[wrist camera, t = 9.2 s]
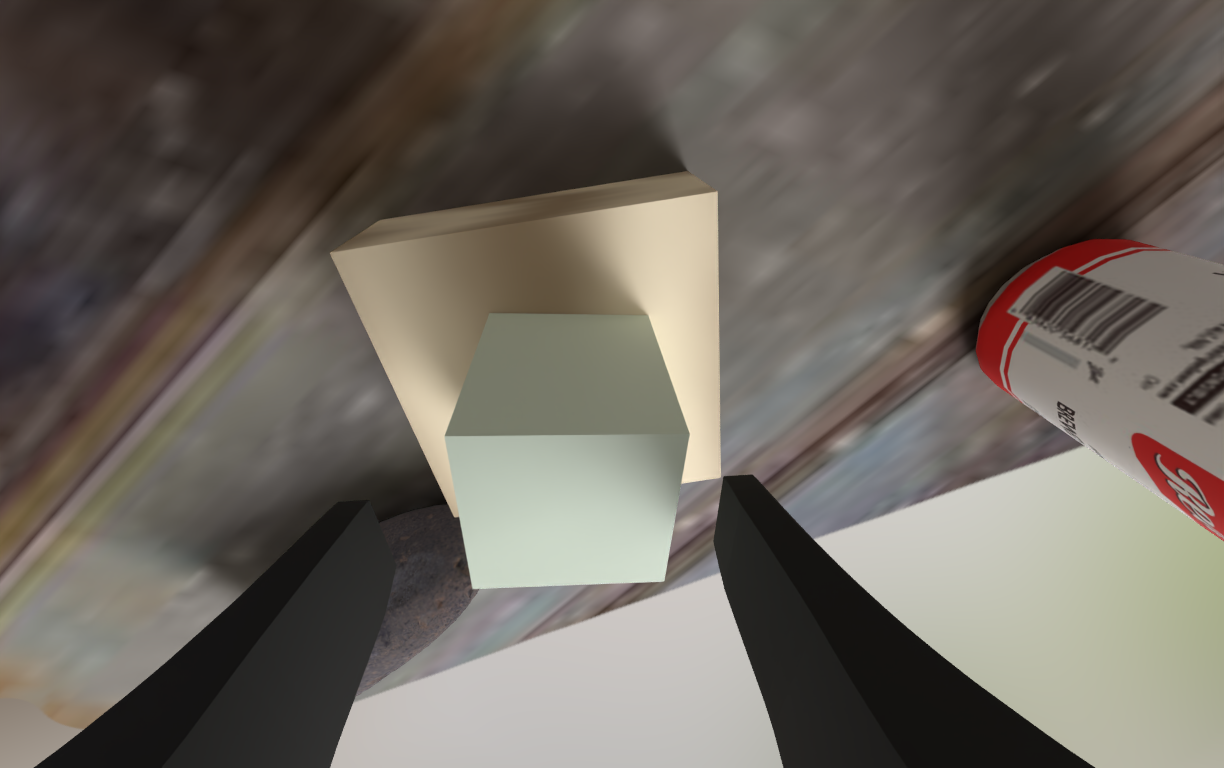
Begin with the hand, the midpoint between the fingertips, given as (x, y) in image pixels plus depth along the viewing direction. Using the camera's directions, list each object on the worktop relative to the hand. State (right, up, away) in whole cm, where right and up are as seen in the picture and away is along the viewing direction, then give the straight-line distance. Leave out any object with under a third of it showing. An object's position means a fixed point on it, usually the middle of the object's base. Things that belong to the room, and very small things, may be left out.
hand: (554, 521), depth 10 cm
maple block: (-1, +5, +8) cm, 10 cm away
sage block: (0, +3, +5) cm, 6 cm away
